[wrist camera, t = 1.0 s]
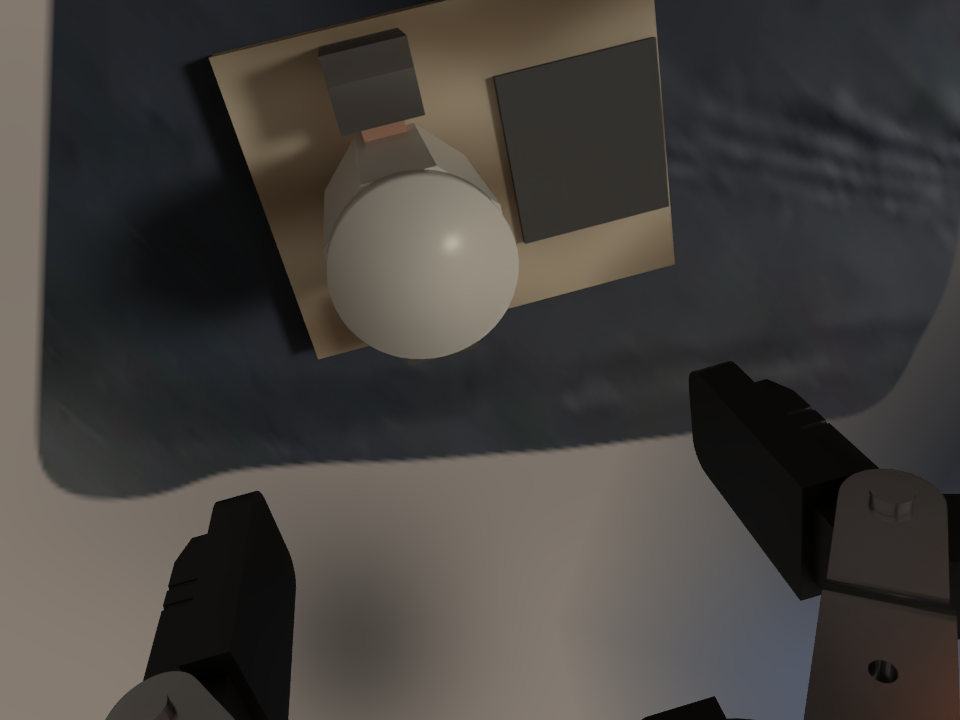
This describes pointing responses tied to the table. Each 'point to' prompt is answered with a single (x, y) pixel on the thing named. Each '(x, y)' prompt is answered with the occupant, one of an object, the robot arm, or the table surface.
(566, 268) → the bulb mounting plate
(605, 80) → the mat
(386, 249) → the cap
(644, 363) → the table surface
